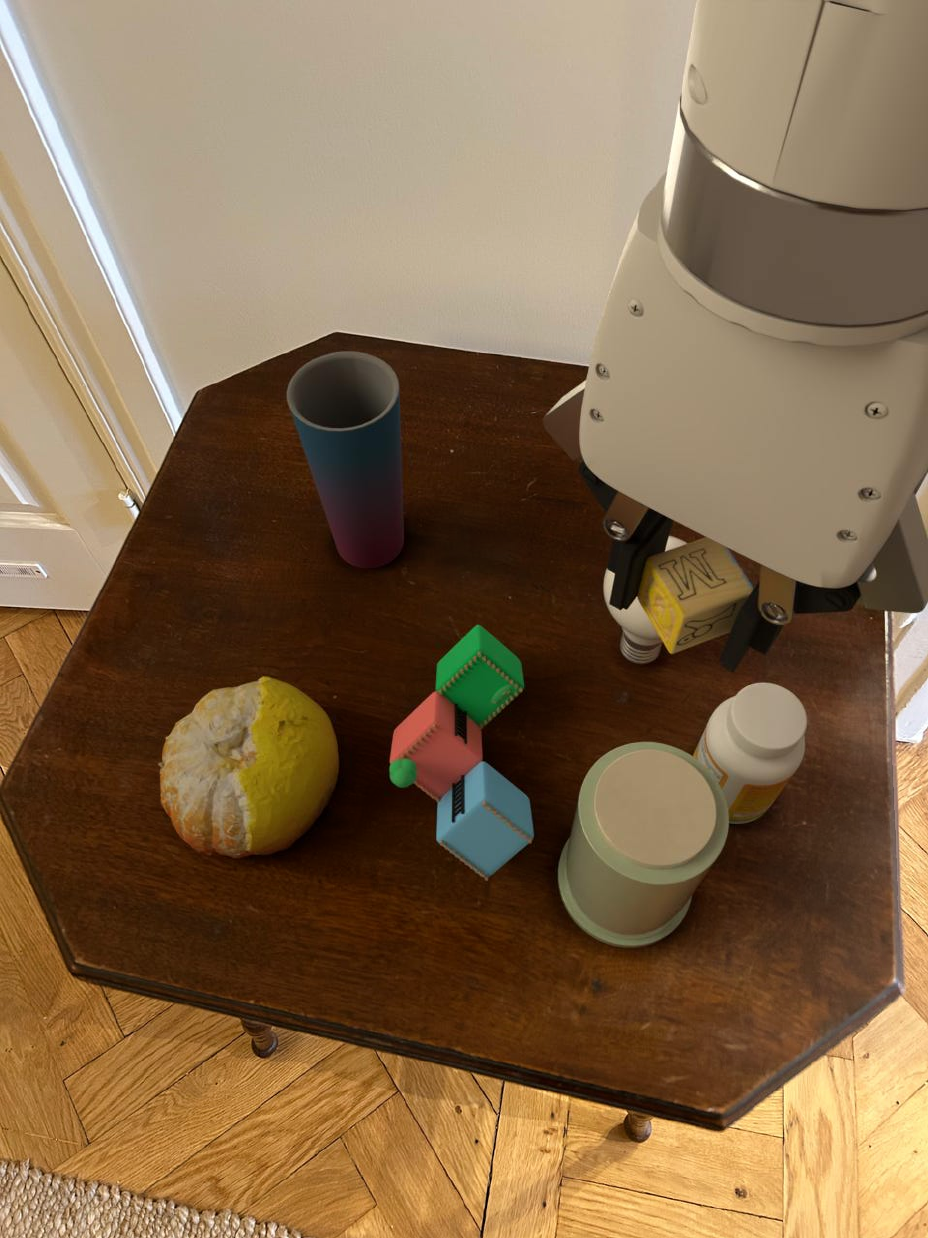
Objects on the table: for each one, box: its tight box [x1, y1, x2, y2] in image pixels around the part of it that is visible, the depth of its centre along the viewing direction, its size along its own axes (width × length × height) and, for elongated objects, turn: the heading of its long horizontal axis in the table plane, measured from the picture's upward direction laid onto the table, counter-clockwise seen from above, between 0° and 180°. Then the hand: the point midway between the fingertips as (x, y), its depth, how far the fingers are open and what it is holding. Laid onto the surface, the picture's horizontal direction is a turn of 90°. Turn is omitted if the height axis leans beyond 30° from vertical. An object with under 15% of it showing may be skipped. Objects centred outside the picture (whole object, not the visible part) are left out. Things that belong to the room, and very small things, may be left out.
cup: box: [286, 351, 405, 569], centre depth 61 cm, size 7×7×15 cm
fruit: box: [157, 675, 340, 859], centre depth 55 cm, size 11×10×8 cm
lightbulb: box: [602, 535, 689, 665], centre depth 57 cm, size 6×6×11 cm
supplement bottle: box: [692, 682, 808, 825], centre depth 52 cm, size 5×5×10 cm
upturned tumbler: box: [557, 741, 730, 949], centre depth 48 cm, size 8×8×12 cm
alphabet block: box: [637, 536, 755, 655], centre depth 35 cm, size 3×3×3 cm
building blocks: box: [388, 624, 535, 882], centre depth 54 cm, size 8×8×12 cm
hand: (688, 610), depth 36 cm, fingers closed on alphabet block, 4 cm apart
